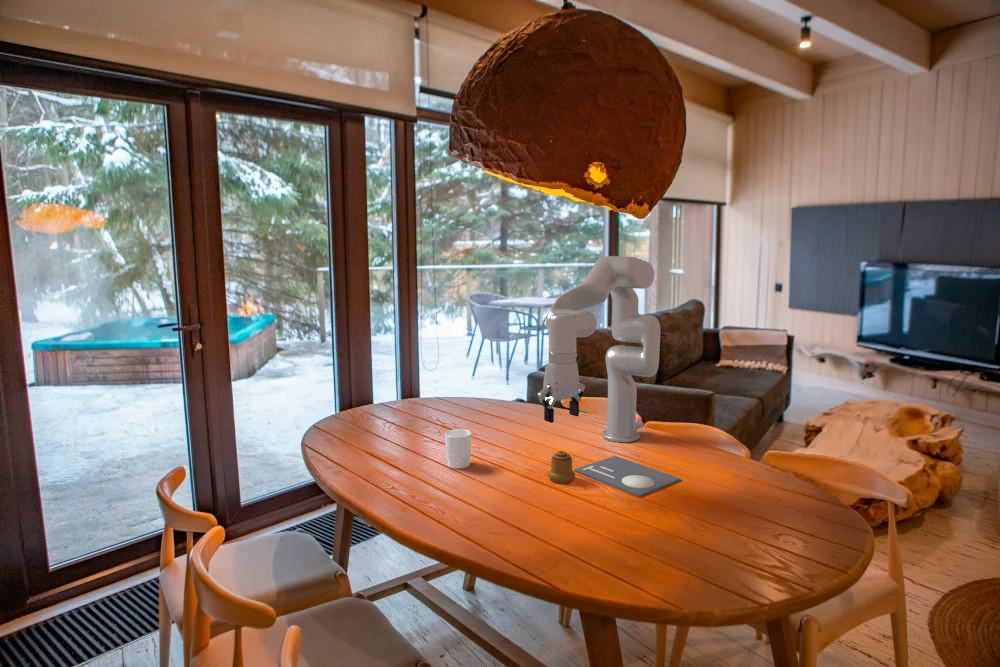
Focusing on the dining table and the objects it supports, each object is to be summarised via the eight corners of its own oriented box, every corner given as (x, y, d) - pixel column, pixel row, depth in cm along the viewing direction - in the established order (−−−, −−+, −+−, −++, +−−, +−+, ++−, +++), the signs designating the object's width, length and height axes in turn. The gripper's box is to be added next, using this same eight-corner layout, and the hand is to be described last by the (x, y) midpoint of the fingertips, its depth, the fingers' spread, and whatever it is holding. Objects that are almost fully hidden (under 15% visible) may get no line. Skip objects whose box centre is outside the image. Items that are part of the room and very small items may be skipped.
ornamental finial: (555, 472, 182) (579, 477, 179) (543, 481, 176) (568, 486, 172) (555, 446, 181) (579, 450, 177) (543, 454, 175) (568, 458, 171)
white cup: (465, 471, 184) (465, 438, 183) (441, 468, 187) (440, 435, 185) (475, 461, 192) (474, 430, 190) (451, 459, 194) (451, 428, 192)
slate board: (614, 457, 194) (614, 455, 194) (680, 480, 176) (680, 478, 176) (573, 471, 183) (573, 469, 183) (639, 497, 165) (639, 494, 165)
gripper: (574, 352, 180) (573, 410, 183) (529, 359, 170) (529, 421, 172) (594, 356, 174) (592, 415, 177) (548, 364, 164) (548, 427, 166)
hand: (561, 418), depth 174 cm, fingers open, 9 cm apart
